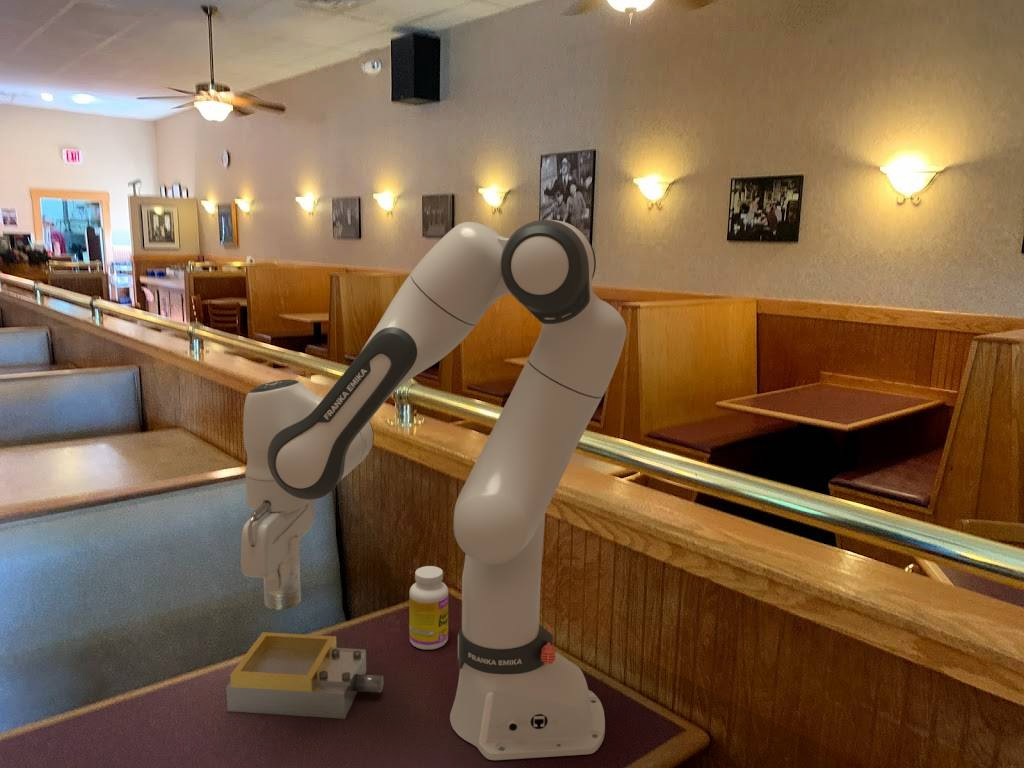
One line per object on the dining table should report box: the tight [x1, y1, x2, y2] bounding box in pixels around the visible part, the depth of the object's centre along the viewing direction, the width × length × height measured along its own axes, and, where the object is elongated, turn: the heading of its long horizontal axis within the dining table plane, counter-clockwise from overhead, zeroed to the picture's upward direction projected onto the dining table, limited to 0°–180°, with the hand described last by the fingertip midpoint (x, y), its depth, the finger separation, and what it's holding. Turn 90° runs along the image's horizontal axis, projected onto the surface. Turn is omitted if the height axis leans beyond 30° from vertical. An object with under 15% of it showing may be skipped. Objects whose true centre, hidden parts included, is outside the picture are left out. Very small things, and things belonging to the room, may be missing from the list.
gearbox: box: [225, 631, 384, 720], centre depth 118 cm, size 22×12×6 cm, turn 86°
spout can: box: [262, 535, 302, 611], centre depth 115 cm, size 7×5×11 cm
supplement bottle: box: [408, 565, 449, 651], centre depth 132 cm, size 7×7×13 cm
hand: (282, 579), depth 115 cm, fingers closed on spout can, 5 cm apart
